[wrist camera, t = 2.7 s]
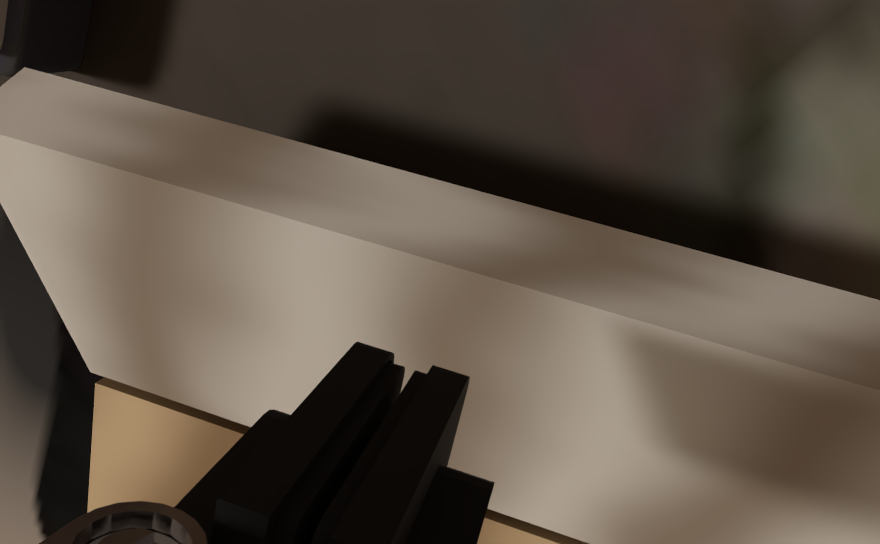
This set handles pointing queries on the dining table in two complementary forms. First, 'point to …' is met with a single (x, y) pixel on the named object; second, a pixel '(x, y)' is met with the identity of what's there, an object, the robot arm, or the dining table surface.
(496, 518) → the oak board
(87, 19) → the calculator
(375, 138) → the dining table surface
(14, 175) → the ash plank
